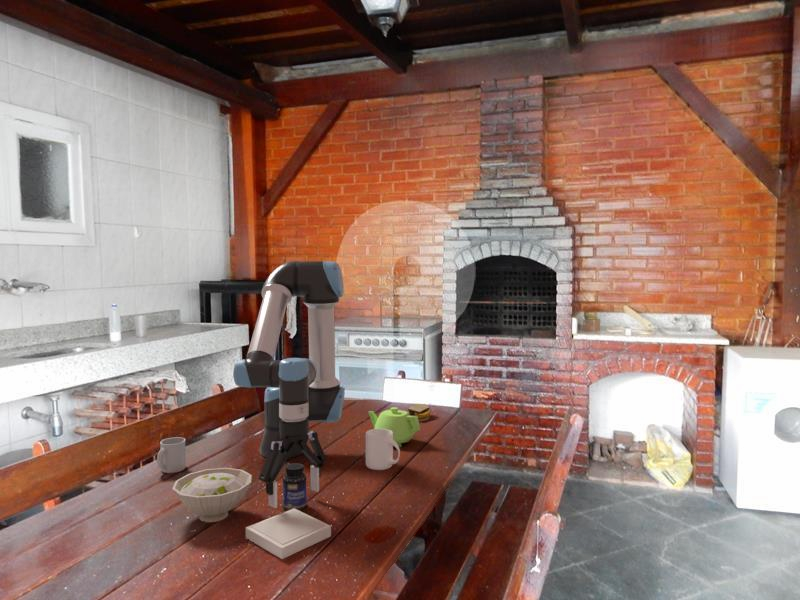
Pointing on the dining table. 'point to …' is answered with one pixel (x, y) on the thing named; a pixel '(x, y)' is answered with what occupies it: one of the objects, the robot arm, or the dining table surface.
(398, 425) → the teapot
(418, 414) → the toy sandwich meal
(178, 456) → the cup
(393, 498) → the dining table surface
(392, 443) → the mug
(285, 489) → the pill bottle
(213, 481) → the bowl
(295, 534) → the square plate
